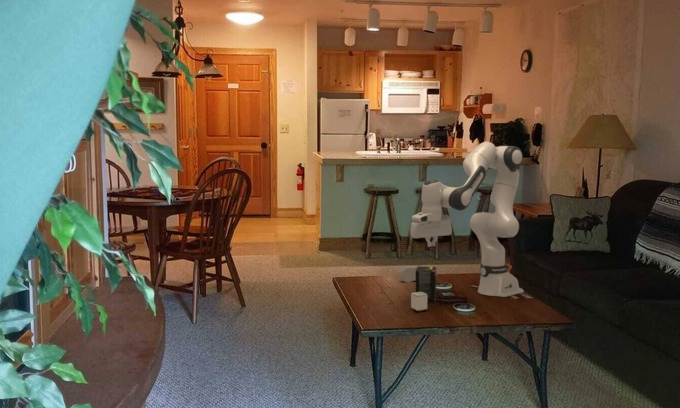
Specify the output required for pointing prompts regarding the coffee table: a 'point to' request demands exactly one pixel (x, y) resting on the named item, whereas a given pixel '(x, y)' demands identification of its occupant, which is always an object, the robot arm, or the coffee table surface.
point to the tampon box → (426, 282)
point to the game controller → (409, 273)
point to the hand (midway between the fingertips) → (431, 246)
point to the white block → (419, 301)
